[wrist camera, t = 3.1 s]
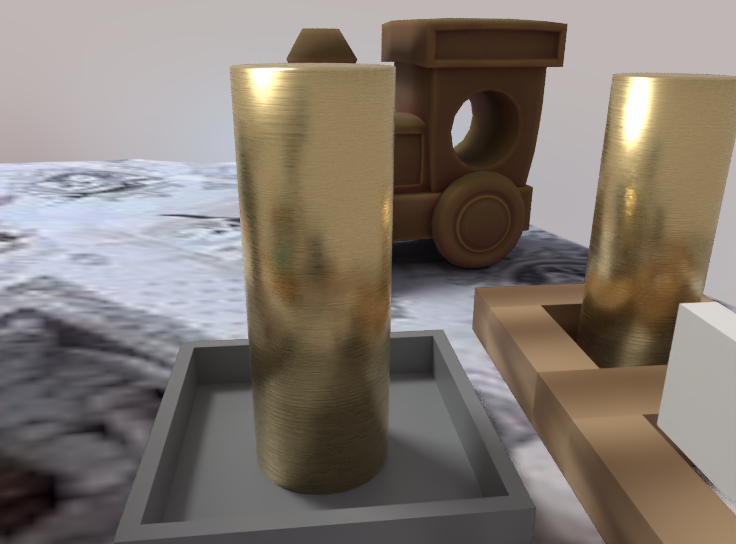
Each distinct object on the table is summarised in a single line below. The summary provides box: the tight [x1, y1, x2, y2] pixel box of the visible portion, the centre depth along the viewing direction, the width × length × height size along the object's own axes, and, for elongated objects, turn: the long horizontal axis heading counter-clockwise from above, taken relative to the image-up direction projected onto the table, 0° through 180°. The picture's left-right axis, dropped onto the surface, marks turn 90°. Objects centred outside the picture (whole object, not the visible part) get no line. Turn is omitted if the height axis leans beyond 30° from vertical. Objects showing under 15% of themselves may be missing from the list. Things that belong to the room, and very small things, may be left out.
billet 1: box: [230, 63, 396, 495], centre depth 22 cm, size 5×5×14 cm
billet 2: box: [576, 73, 736, 369], centre depth 28 cm, size 5×5×14 cm
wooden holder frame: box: [472, 283, 736, 544], centre depth 25 cm, size 22×12×2 cm, turn 7°
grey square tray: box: [113, 330, 536, 544], centre depth 24 cm, size 12×12×2 cm
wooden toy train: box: [287, 18, 567, 269], centre depth 45 cm, size 20×11×17 cm, turn 106°
